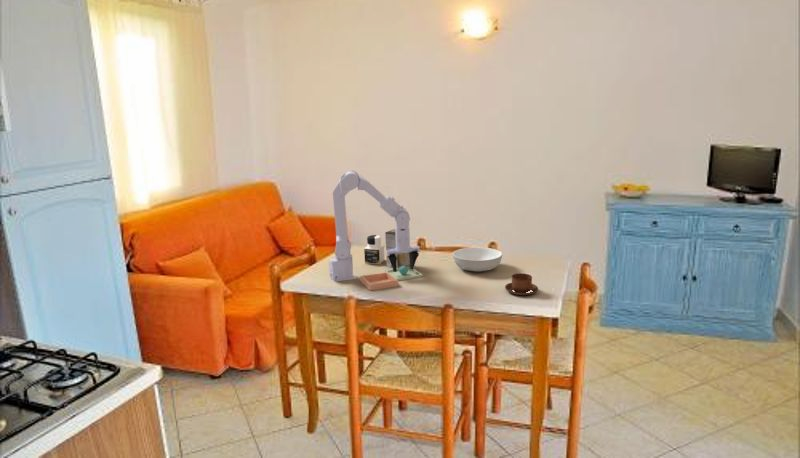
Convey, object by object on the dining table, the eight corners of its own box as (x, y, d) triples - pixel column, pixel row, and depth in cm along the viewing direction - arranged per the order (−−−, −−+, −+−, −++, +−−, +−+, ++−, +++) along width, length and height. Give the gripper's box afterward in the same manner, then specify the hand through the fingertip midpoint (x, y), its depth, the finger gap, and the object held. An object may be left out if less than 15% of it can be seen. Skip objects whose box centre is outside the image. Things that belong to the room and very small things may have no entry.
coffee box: (398, 262, 246) (398, 227, 242) (410, 264, 242) (409, 229, 238) (386, 267, 239) (385, 231, 235) (397, 270, 235) (396, 233, 231)
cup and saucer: (543, 291, 207) (544, 275, 205) (527, 300, 198) (528, 284, 197) (515, 284, 214) (516, 269, 213) (498, 293, 206) (499, 277, 204)
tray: (395, 282, 220) (395, 278, 220) (384, 273, 231) (384, 270, 230) (422, 277, 224) (422, 274, 224) (411, 269, 235) (410, 266, 235)
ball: (401, 276, 225) (400, 267, 224) (397, 273, 228) (397, 265, 227) (409, 275, 226) (409, 266, 225) (406, 272, 230) (405, 264, 229)
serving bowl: (499, 261, 244) (500, 246, 242) (503, 276, 224) (504, 260, 222) (452, 261, 246) (452, 246, 244) (452, 276, 226) (452, 260, 224)
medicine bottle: (364, 263, 245) (363, 237, 243) (370, 259, 252) (369, 233, 249) (379, 264, 243) (378, 238, 241) (384, 259, 250) (384, 234, 247)
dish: (369, 291, 210) (369, 284, 209) (360, 282, 221) (360, 275, 220) (398, 287, 214) (397, 280, 214) (387, 278, 225) (387, 271, 224)
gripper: (389, 242, 218) (390, 275, 221) (422, 238, 223) (423, 270, 226) (383, 238, 224) (384, 270, 227) (415, 234, 229) (416, 265, 232)
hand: (403, 270), depth 227 cm, fingers open, 7 cm apart
